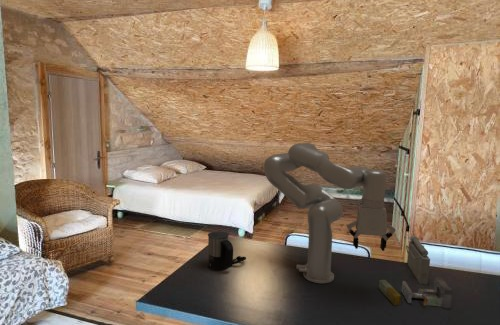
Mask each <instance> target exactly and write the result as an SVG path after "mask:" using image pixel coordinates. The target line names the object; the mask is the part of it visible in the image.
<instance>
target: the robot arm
mask: <svg viewBox="0 0 500 325" xmlns="http://www.w3.org/2000/svg"><path fill="white" fill-rule="evenodd" d="M301 167H304V168H306V169H308V170H311V171H313V172H314V173H317V174H318V175H319V176H320V177H321V178H322V179H323V180H324V181H326V182H328V183H330V184H332V185H334V186H336V187H338V188H341V189H343V190H345V189H346V190H351V189H353V188H357V187H362V195H361V196H362V197H361V199H357V204H360V205H359V207H358V211H357V216H356V220H355V221H352V222H350V223H348V224H346V227H347V230H348V233H349V234H350V235H351V236H352V238H353V242H352V244H353V246H354V248H355V249H356V250H357V249H358V248H359V236H361V235H362V236H363V235H364V236H375V237H377V236H378V237H381V238H380V245H379V246H380V249H381V251H382V252H385V249H386V248H387V243H388V242H387V241H388V240H389V239H390V238H392V236H393V234H394V233H395V232H396V230H397V229H396V228H395V227H393V226H391V224H388V223H387V222H388V221H387V220H388V216H387V209H386V207H385V206H384V205H385V195H386V183H387V182H386V181H387V173H386V172H385V171H384V170H381V169H374V168H373V169H372V168H371V169H370V168H367V167H363V166H352V167H351V166H350V167H343V166H340V165H339V164H335V163H333V161H330V157H329V155H328V153H326V152H323V151H320V150H318V148H317V147H316V145H314V144H313V143H311V142H300V143H295V144H293V145H292V146H290V148H289V149H288V152H285V153H284V152H283V153H276V154H273V155H270V156H268V157H267V158H266V159H265V161H264V163H263V172H264V175H265V177H266V179H267V181H268V182H269V183H270V184H271V185H272V186H273V187H274V188H276V189H277V190H279V191H280V192H281V193H282V194H283V195H284V197H286V198H287V199H288V200H289V201H290V202H292V203H293V205H295V206H296V207H297V208H299V209H303V210H304V209H308V208H309V209H308V211H307V224H308V242H307V243H308V247H307V250H308V251H307V262H306V263H305V264H296V270H298V271H299V272H303V277H304V279H306V280H308V281H309V282H312V283H315V284H328V283H331V282H333V281H334V279H335V274H334V273H333V272H332V271H331V269H332V268H331V267H332V249H333V248H332V247H333V231H332V227H331V226H332V224H333V223H334V222H336V221H339V220H340V219H341V218H342V217H343V214H344V210H343V206H342V204H341V203H340V201H339V200H337V199H336V198H335V197H334V196H332V195H331V194H330V193H329V192H327V191H326V190H325V189H324V188H323V187H322V186H320V185H318V184H314V183H310V184H304V183H301V182H300V181H298V180H297V179H296V178H295V177H294V176H292V175H290V174H288V172H293V171H295V170H297V169H299V168H301ZM354 227H355V231H354V230H353V228H354ZM387 230H389V231H388V232H387Z"/></svg>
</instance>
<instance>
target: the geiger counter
mask: <svg viewBox="0 0 500 325" xmlns="http://www.w3.org/2000/svg"><path fill="white" fill-rule="evenodd" d="M409 240H410V241H409V242H408V245H406V247H405V249H406V253H407V261H406V263H408V264H407V265H408V267H409V270H411V272H412V274H413V276H414V277H415V278H416V280H417V282H418V283H419V284H420V285H428V284H429V283H428V282H429V276H430V275H429V274H430V265H431V263H430V262H431V258H429V256H428V255H429V252H428V250H427V248H425V245H423V244H422V243H421V241H420V240H419V238H418V236H416V235H411V236H410V237H409Z"/></svg>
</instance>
